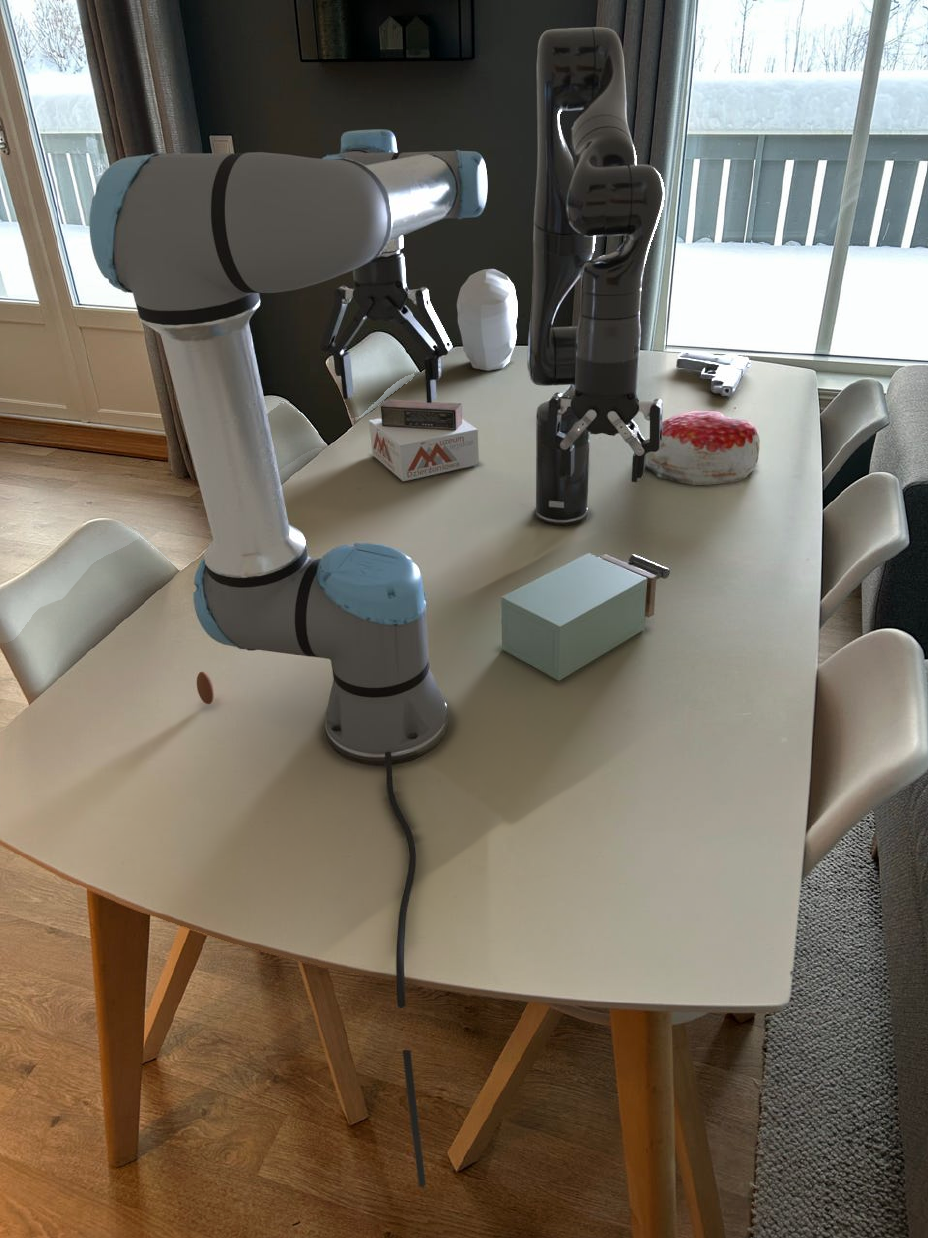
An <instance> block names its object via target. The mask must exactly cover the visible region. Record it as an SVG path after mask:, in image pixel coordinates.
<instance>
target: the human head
mask: <svg viewBox="0 0 928 1238" xmlns="http://www.w3.org/2000/svg"><path fill="white" fill-rule="evenodd" d="M456 310H457V325H458V329H459V332H460V336H461V342H462V348H463V352H464V354H465V356H466V358H467V359H468V360H469V362H470V364H471V366H472V368H473V369H477V370H482V371H487V372H489V371H495V370H500V369H504V368H505V367H506V365H508V364H509V363H510V362H511V356H512V354H513V351H514V348H515V346H516V343H517V342H516V341H517V336H518V334H517V319H518V299H517V294H516V288H515V285H514V283H513V282H512V281H511V279H510V278H509V276H508V275H507V274H505V273H503V272H501V271H500V270H497V269H495V268H488V269H487V268H486V269H482V270H479V271H477V272H475V273H473V274H471V275H469V276H468V277H467V279H466V280H465V282H464V283H463V284H462V286H461V287H460V290H459V293H458V295H457V301H456Z"/></svg>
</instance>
